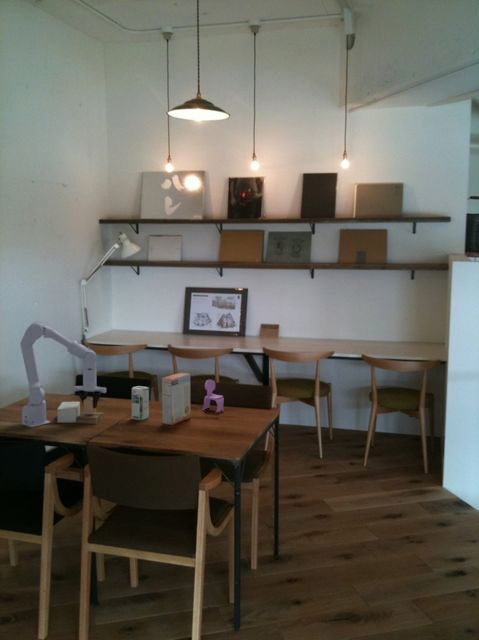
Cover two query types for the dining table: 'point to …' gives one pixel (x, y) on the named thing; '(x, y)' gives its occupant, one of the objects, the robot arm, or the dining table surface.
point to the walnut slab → (90, 418)
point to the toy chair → (212, 396)
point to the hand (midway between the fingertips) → (90, 407)
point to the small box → (68, 412)
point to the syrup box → (140, 403)
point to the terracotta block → (89, 406)
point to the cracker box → (175, 398)
